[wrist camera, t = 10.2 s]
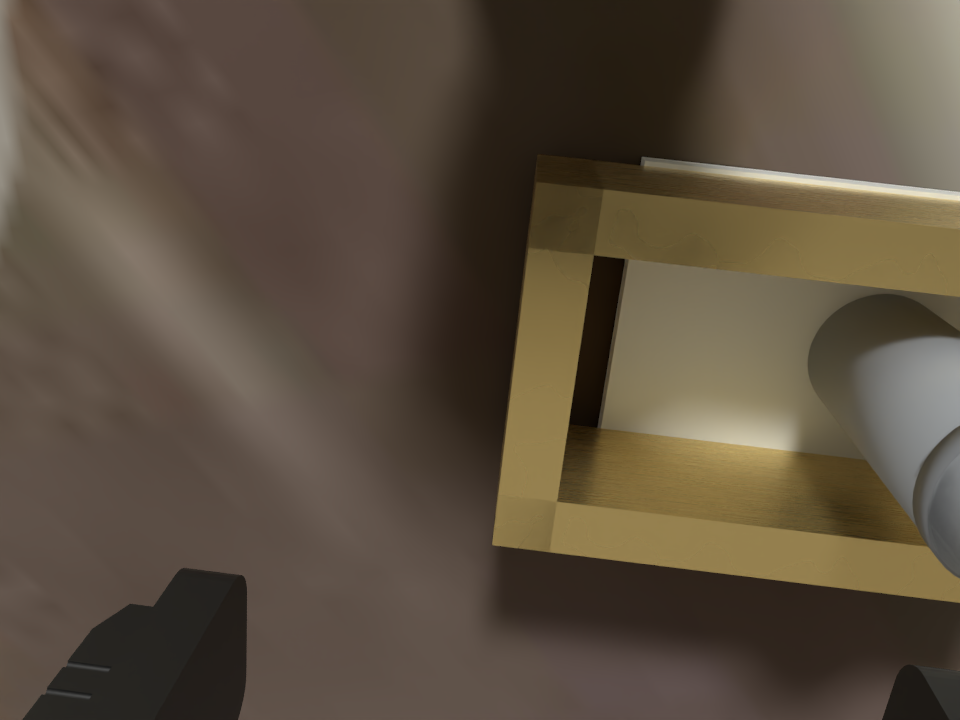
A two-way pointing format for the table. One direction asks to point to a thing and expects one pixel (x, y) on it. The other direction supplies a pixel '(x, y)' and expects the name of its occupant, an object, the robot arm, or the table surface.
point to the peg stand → (797, 368)
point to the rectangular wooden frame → (696, 463)
